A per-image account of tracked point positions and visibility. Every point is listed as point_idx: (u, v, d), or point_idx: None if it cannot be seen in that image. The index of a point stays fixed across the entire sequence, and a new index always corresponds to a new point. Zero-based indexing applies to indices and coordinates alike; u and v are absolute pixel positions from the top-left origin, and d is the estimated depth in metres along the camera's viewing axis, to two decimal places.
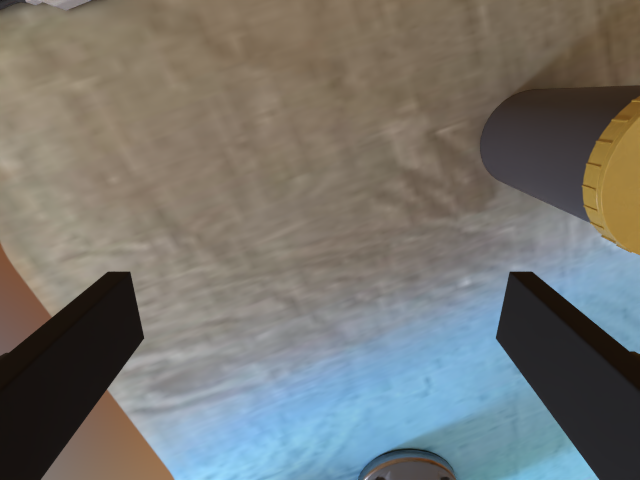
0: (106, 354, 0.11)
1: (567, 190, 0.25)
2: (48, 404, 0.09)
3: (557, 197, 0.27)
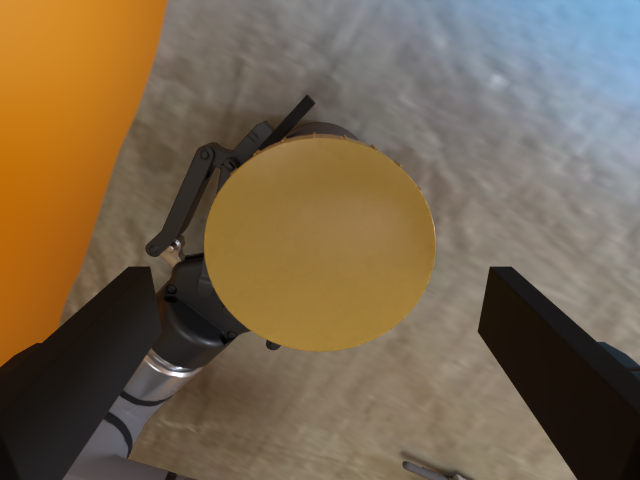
0: (129, 346, 0.11)
1: None
2: (79, 391, 0.09)
3: None
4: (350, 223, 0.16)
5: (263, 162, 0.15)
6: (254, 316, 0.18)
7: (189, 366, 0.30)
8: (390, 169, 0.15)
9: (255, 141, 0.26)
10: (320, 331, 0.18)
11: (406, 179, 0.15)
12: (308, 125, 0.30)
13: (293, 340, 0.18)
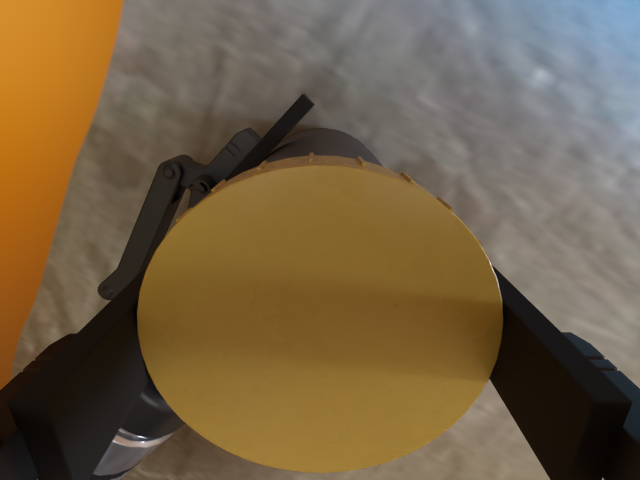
0: None
1: None
2: (113, 379, 0.09)
3: None
4: (369, 298, 0.10)
5: (226, 205, 0.09)
6: (221, 427, 0.12)
7: (156, 435, 0.24)
8: (437, 216, 0.09)
9: (235, 154, 0.20)
10: (320, 447, 0.12)
11: (462, 232, 0.09)
12: (306, 132, 0.24)
13: (280, 458, 0.12)
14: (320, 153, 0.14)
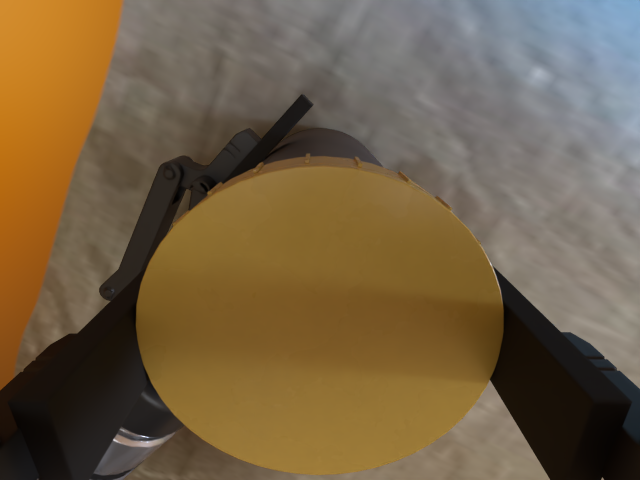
0: None
1: None
2: (114, 379, 0.09)
3: None
4: (253, 319, 0.10)
5: (204, 429, 0.12)
6: (439, 413, 0.12)
7: (158, 434, 0.24)
8: (152, 285, 0.10)
9: (235, 155, 0.20)
10: (460, 323, 0.10)
11: (158, 259, 0.10)
12: (305, 132, 0.24)
13: (481, 358, 0.11)
14: (319, 153, 0.14)
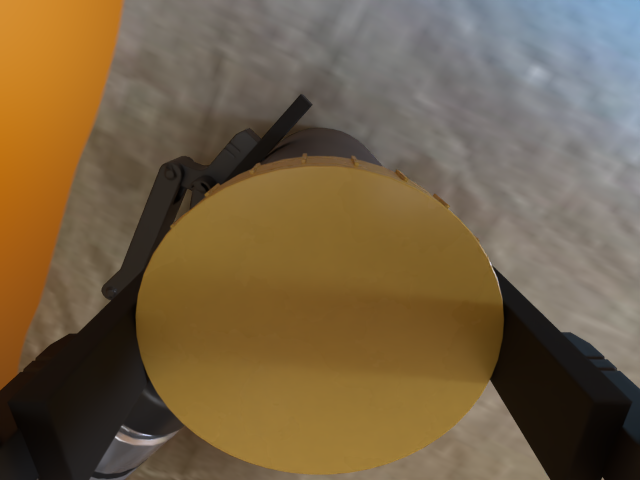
0: None
1: None
2: (114, 379, 0.09)
3: None
4: (300, 402, 0.11)
5: (439, 425, 0.12)
6: (386, 209, 0.09)
7: (161, 433, 0.24)
8: (287, 466, 0.12)
9: (235, 155, 0.20)
10: (255, 228, 0.09)
11: (262, 463, 0.12)
12: (304, 132, 0.24)
13: (294, 188, 0.09)
14: (318, 152, 0.15)
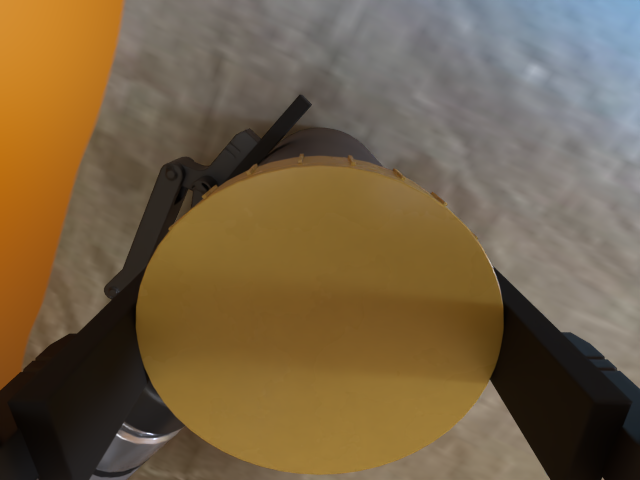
0: None
1: None
2: (114, 379, 0.09)
3: None
4: (391, 353, 0.11)
5: (407, 202, 0.09)
6: (162, 325, 0.10)
7: (163, 431, 0.24)
8: (490, 351, 0.11)
9: (235, 155, 0.20)
10: (215, 410, 0.12)
11: (487, 373, 0.11)
12: (304, 132, 0.25)
13: (172, 390, 0.11)
14: (317, 152, 0.15)
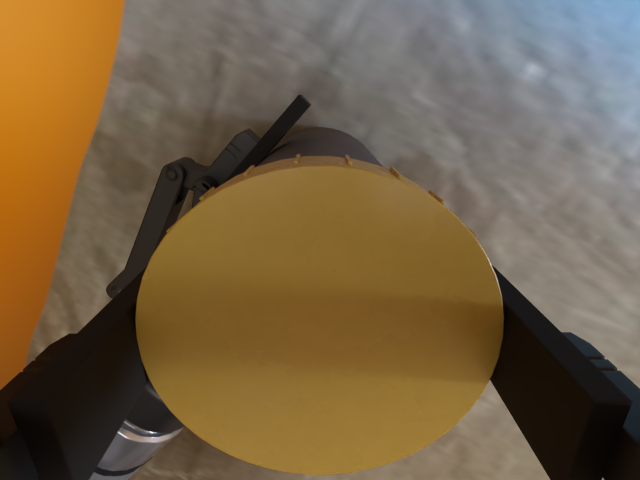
0: None
1: None
2: (113, 379, 0.09)
3: None
4: (309, 284, 0.10)
5: (149, 312, 0.10)
6: (323, 459, 0.12)
7: (166, 430, 0.24)
8: (281, 182, 0.09)
9: (236, 155, 0.20)
10: (413, 419, 0.12)
11: (314, 173, 0.09)
12: (303, 132, 0.25)
13: (393, 450, 0.12)
14: (316, 151, 0.15)
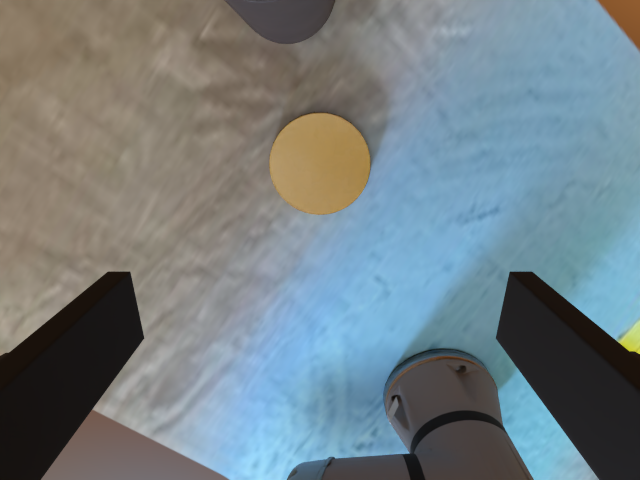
0: (106, 354, 0.11)
1: None
2: (48, 404, 0.09)
3: (242, 10, 0.24)
4: (317, 145, 0.38)
5: (274, 154, 0.38)
6: (321, 207, 0.40)
7: None
8: (310, 117, 0.37)
9: None
10: (347, 192, 0.39)
11: (318, 114, 0.37)
12: None
13: (342, 204, 0.40)
14: None
